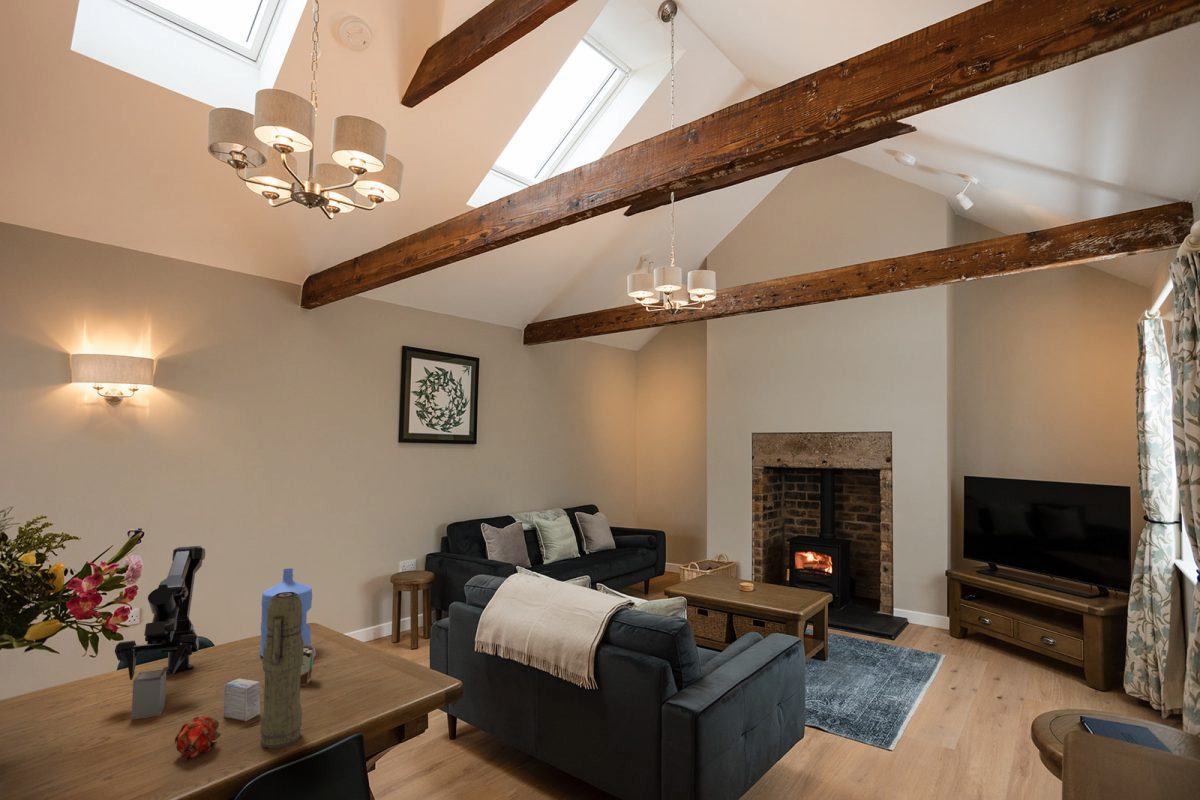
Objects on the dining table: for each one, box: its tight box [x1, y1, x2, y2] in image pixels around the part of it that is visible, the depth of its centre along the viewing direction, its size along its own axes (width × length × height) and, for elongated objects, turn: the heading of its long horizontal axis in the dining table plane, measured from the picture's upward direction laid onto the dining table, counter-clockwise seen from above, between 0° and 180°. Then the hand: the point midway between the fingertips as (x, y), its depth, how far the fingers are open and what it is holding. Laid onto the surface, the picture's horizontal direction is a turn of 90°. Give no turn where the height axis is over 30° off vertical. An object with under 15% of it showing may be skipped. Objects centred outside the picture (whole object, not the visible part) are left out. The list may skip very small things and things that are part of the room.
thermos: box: [259, 592, 304, 749], centre depth 150 cm, size 9×12×35 cm
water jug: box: [259, 568, 313, 658], centre depth 210 cm, size 16×16×28 cm
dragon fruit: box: [174, 714, 221, 761], centre depth 142 cm, size 8×8×12 cm
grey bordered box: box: [131, 669, 167, 720], centre depth 163 cm, size 6×6×10 cm
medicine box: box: [223, 678, 261, 722], centre depth 162 cm, size 8×4×9 cm, turn 71°
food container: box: [300, 644, 317, 685], centre depth 185 cm, size 12×6×10 cm, turn 84°
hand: (151, 676), depth 165 cm, fingers open, 9 cm apart
